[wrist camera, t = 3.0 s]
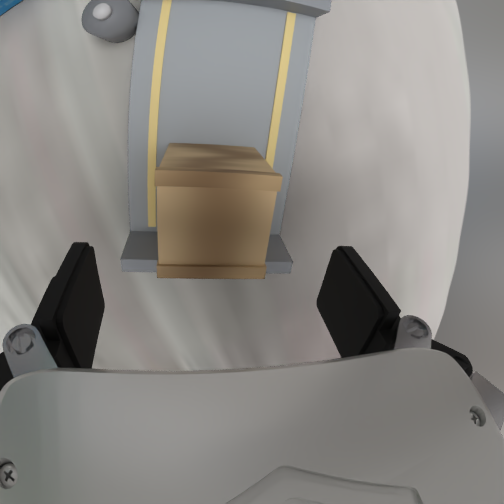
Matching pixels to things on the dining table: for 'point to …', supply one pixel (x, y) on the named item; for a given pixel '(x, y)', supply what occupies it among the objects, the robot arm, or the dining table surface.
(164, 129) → the bay
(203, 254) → the block
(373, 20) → the dining table surface
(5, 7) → the milk carton
